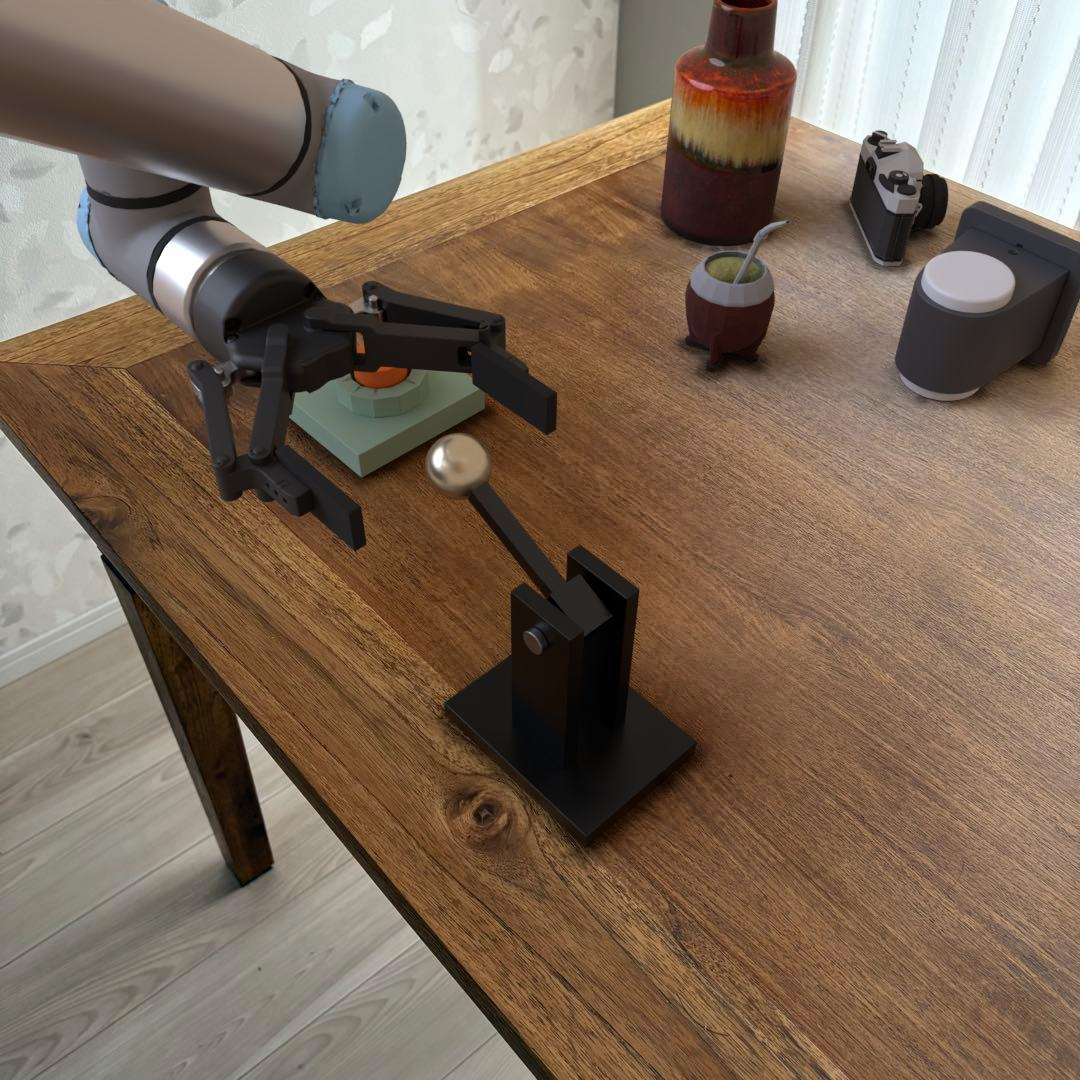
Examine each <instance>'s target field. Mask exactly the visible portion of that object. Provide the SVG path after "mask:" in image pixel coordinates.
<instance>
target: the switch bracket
mask: <svg viewBox="0 0 1080 1080" xmlns="http://www.w3.org/2000/svg"><path fill="white" fill-rule="evenodd" d="M578 574H581V575H582V577H583V578H584V579H585V580H586V582H587V583H588V584H589V585H590V587H591V588H592V589H593V590H594V592H595V593H596V594H597V596H598V597H599V598H600V599H601V601H602V602H603V603H604V604H605V606H606V607H607V608H608V609H609V611H610V612H611V613H612V614H613V616H612V617H611V618H610V619H609V620H608V621H607V622H606V623H605V624H604V625H603V626H602V627H601V628H600V629H599V630H598V631H597V632H596V633H595V634H593V635H592V636H591V637H589V638H588V639H586V640H585V641H584V629H582V628H581V627H580V626H579V625H577V624H576V623H575V622H574V621H572V620H571V619H570V618H569V617H567V616H566V615H565V614H564V613H562V612H561V611H560V610H559V609H558V608H556V607H555V606H554V605H553V604H551V603H550V602H549V601H548V600H546V598H545V597H544V596H543V595H541V594H540V593H539V592H538V591H536V590H535V589H534V588H533V587H532V586H530V585H529V584H528V583H527V582H525V581H523V582H522V583H521V584H519V585H517V586H516V587H515V588H513V589H512V590H510V593H509V594H510V654H509V656H507V657H506V658H505V659H503V660H501V661H500V662H499V663H497V664H496V665H495V666H493V667H492V668H491V669H489V670H488V671H486V672H485V673H483V674H482V675H481V676H479V677H478V678H477V679H474V681H472V682H471V683H469V684H468V685H467V686H465V687H464V688H462V689H461V690H459V692H457V693H456V694H454V695H452V697H450V698H448V699H446V701H445V702H443V705H444V715H445V717H446V718H447V719H449V721H450V722H452V724H454V726H456V727H457V728H458V729H459V730H460V731H461V732H462V733H463V735H465V736H466V737H467V738H468V739H469V740H471V742H473V744H475V745H476V746H477V747H478V748H479V749H480V750H481V751H482V752H483V753H484V754H485V755H487V757H488V758H489V759H490V760H491V761H492V762H493V763H495V765H497V766H498V767H499V768H500V769H501V770H502V771H503V772H504V773H505V774H506V775H507V776H509V778H510V779H512V780H513V782H515V783H516V784H517V785H518V786H519V787H520V788H521V789H522V790H523V791H524V792H525V793H526V794H527V795H528V796H530V797H531V798H532V799H533V800H534V802H536V803H537V804H538V805H539V806H540V807H541V808H542V809H543V810H544V811H545V812H546V813H547V814H548V815H549V816H550V817H552V819H554V820H555V821H556V822H557V823H558V824H559V825H560V826H561V827H562V828H563V829H564V830H565V831H566V832H567V833H568V834H569V835H570V836H571V837H573V838H574V839H575V840H576V842H578V843H579V844H580V845H581V846H582V847H583V848H584V849H587V848H588V847H589V846H590V845H591V844H593V843H594V842H595V841H596V840H597V839H598V838H600V836H602V835H603V834H604V833H605V832H607V830H609V829H610V828H611V827H612V826H613V825H614V824H616V823H617V822H618V821H619V820H620V819H621V818H623V817H624V816H625V815H626V814H627V813H628V812H629V811H631V810H632V809H633V808H634V807H635V806H637V805H638V804H639V803H640V802H641V801H642V800H643V799H644V798H646V797H647V796H648V795H649V794H651V792H653V791H654V790H655V789H656V788H657V787H658V786H659V785H661V784H662V783H663V782H664V781H665V780H667V778H669V777H670V776H671V775H672V774H673V773H675V772H676V770H678V769H679V768H680V767H681V766H682V765H684V764H685V763H687V761H688V760H689V759H691V758H692V757H693V756H694V755H695V753H696V748H697V744H698V741H697V740H696V739H694V738H693V737H692V736H691V735H689V734H688V733H687V732H686V731H685V730H683V729H682V728H681V727H680V726H679V725H677V724H676V723H675V722H674V721H673V720H671V719H670V718H669V717H667V715H665V714H664V713H663V712H662V711H660V710H659V709H658V708H657V707H656V706H654V705H653V704H652V703H651V702H650V701H648V700H647V699H646V698H645V697H643V696H642V695H641V694H640V693H639V692H637V691H636V690H635V689H634V688H632V686H630V681H631V672H632V663H633V655H634V645H635V635H636V628H637V627H636V626H637V618H638V609H639V602H640V601H639V600H640V591H641V590H640V588H638V587H637V586H636V585H634V584H633V583H632V582H631V581H629V580H628V579H627V578H625V577H624V576H623V575H621V574H620V573H618V572H617V570H615V569H613V568H612V567H611V566H610V565H608V564H607V563H606V562H604V561H603V560H602V559H600V558H599V557H597V555H595V554H593V553H592V552H591V551H589V550H588V549H587V548H586V547H584V546H583V545H582V544H578V545H577V546H576V547H573V549H571V550H569V551H568V552H567V554H566V574H565V575H566V576H565V581H566V582H568V581H570V580H571V579H573V578H574V577H575V576H577V575H578Z"/></svg>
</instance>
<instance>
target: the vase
mask: <svg viewBox="0 0 1080 1080" xmlns="http://www.w3.org/2000/svg"><path fill="white" fill-rule="evenodd" d="M778 2H779V1H778V0H712V3H711V9H710V13H709V14H710V15H709V20H708V25H707V30H706V34H705V35H706V36H705V41H704V43H703V44H700V45H697V46H695V47H692V48H690V49H687V50H686V51H685V52H684V53H682V55H680V57H679V58H678V59H677V61H676V63H675V67H674V73H673V80H672V82H673V83H672V91H671V102H670V112H669V121H668V131H667V140H666V141H667V143H666V150H665V151H666V152H665V163H664V171H663V172H664V173H663V181H662V193H661V203H660V216H661V217H660V218H661V220H662V222H663V223H664V225H665V226H666V228H668V229H669V230H670V231H671V232H673V233H675V234H676V235H678V236H680V237H682V238H684V239H686V240H690V241H691V242H695V243H700V244H706V245H711V246H712V245H715V246H731V245H741V244H746V243H749V242H752V241H754V238H755V236H756V234H757V233H758V231H759V230H760V229H763V228H764V227H766V226H767V225H769V224H771V223H773V217H774V211H775V207H776V201H777V200H776V199H777V195H778V190H779V183H780V179H781V174H782V173H781V172H782V167H783V161H784V156H785V150H786V146H787V145H786V144H787V139H788V134H789V129H790V128H789V127H790V121H791V116H792V109H793V106H794V105H793V104H794V99H795V94H796V93H795V92H796V86H797V80H798V71H797V69H796V66H795V65H794V63H793V62H792V60H791V59H789V58H788V57H787V56H786V55H785V54H782V53H781V52H779V51H777V50H775V40H776V31H777V30H776V29H777V17H778V6H779V5H778V4H779V3H778Z"/></svg>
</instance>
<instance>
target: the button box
mask: <svg viewBox="0 0 1080 1080" xmlns="http://www.w3.org/2000/svg"><path fill="white" fill-rule="evenodd" d="M485 395H486V393H485V392H483V391H482V390H480V389H479V388H477V387H476V386H475V385H473V382H472V376H470V375H469V374H468V373H457V372H444V371H431V370H418V369H407V376H406V378H405V380H404V381H403V382H401V383H399V384H398V385H396V386H394V387H391V388H384V389H372V388H367V387H363V386H361V385H360V384H359V383H358V382H357V381H356V379H355V376H354V371H352V372H351V373H349V374H347V375H346V376H344V377H341V378H338V379H335V380H331V381H329V382H327V383H326V384H325V385H324V386H322V387H321V388H320V389H318V390H316V391H314V392H312V393H310V394H309V393H308V392H307V391H305V392H298V393H295V398H294V404H293V410H292V415H289V420H291V421H293V422H294V423H295V424H296V425H298V427H300V428H301V429H302V430H303V431H304V432H306V433H307V434H308V435H309V436H311V437H312V438H313V439H314V440H316V442H318V443H319V444H320V445H321V446H322V447H324V448H325V449H326V450H328V452H329V453H331V454H332V455H334V457H336V458H337V459H338V460H339V461H341V462H342V463H343V464H344V465H346V466H347V467H348V468H349V469H350V470H351V471H353V472H354V473H355V474H357V476H359V477H360V478H364V477H366V476H367V475H370V474H371V473H373V472H374V471H376V470H378V469H380V468H382V467H383V466H385V465H387V464H389V463H391V462H393V461H394V460H396V459H398V458H399V457H401V456H403V455H405V454H406V453H409V452H411V451H412V450H413V449H416V448H417V447H419V446H421V445H422V444H423V445H424V443H426V442H428V441H429V440H432V439H433V438H435V437H437V436H438V435H440V434H442V433H444V432H445V431H448V430H449V429H451V428H453V427H455V426H456V425H458V424H460V423H462V422H463V421H465V420H467V419H468V418H470V417H473V416H474V415H476V414H477V413H479V412H481V411H483V410H485V409H486V398H485V397H486V396H485Z"/></svg>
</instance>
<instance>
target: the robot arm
mask: <svg viewBox="0 0 1080 1080" xmlns="http://www.w3.org/2000/svg"><path fill="white" fill-rule="evenodd" d="M0 137H1V138H6V139H10V140H14V141H17V142H22V143H26V144H31V145H34V146H39V147H42V148H46V149H50V150H54V151H58V152H63V153H67V154H71V155H75V156H76V157H77V159H78V162H79V166H80V168H81V171H82V174H83V178H84V182H85V184H86V185H85V187H84V188H83V189H82V192H81V194H80V196H79V203H78V207H77V211H76V212H77V214H76V219H75V220H76V228H77V232H78V235H79V237H80V239H81V241H82V243H83V245H84V246H85V248H86V249H87V250H88V253H90V254H91V255H92V256H93V257H94V258H95V259H96V261H97V262H98V263H99V265H100V266H101V267H102V268H104V269H105V270H106V271H107V274H109V275H110V276H111V277H113V278H114V279H115V281H117V282H118V283H121V284H122V285H123V286H125V287H127V289H129V290H130V291H132V292H133V293H134V294H135V295H136V296H138V297H139V298H141V299H142V300H143V301H145V302H146V303H147V304H148V305H149V306H150V307H152V308H153V309H155V310H156V311H157V312H159V314H161V315H162V316H164V317H165V318H166V319H167V320H169V321H170V322H171V323H172V324H173V325H175V326H176V327H177V328H179V329H180V330H181V331H182V332H183V333H185V334H186V335H187V336H188V337H189V338H191V339H192V340H193V341H194V342H196V343H197V344H198V345H200V346H201V347H202V348H203V349H204V350H205V351H206V352H207V353H208V354H209V355H211V356H212V357H213V358H214V359H216V360H217V361H218V362H219V364H216V365H213V366H211V365H210V364H209V362H207V361H206V360H203V359H196V360H192V361H191V362H189V363H188V364H187V365H186V370H187V374H188V378H189V382H190V385H191V389H192V394H193V396H194V400H195V403H196V404H197V406H198V407H199V408H200V409H201V410H202V412H203V414H204V421H205V427H206V434H207V440H208V448H209V449H208V450H209V455H210V462H211V467H212V469H213V473H214V474H213V475H214V478H215V481H216V485H217V489H218V492H219V496H220V498H221V499H222V500H223V501H224V502H236V501H237V500H239V499H240V498H241V497H243V494H244V492H245V491H249V490H254V489H255V490H256V494H257V498H258V499H259V501H261V502H263V503H273V502H274V501H276V503H278V504H279V505H280V506H281V507H282V508H283V509H285V511H286V512H288V513H289V514H290V515H292V516H295V517H297V518H301V517H303V516H304V515H306V514H309V513H310V514H311V515H313V516H314V517H315V518H316V519H317V520H318V521H319V522H321V524H323V525H324V526H325V527H326V528H328V529H329V530H330V531H331V532H332V533H333V534H334V535H335V536H336V537H338V539H340V540H341V541H342V542H344V544H345V545H346V546H348V547H349V548H350V549H351V550H352V551H353V552H357V551H359V550H360V549H362V548H364V547H365V546H367V543H368V542H367V537H366V531H365V523H364V515H363V509H362V506H361V505H360V504H359V503H357V502H356V500H354V499H353V498H351V496H349V495H348V494H347V493H345V492H344V491H343V490H342V489H341V488H340V487H338V485H336V484H335V483H334V482H333V481H331V480H330V479H329V478H328V477H327V476H325V475H324V474H323V473H322V472H321V471H320V470H318V469H317V468H316V467H315V466H314V465H312V464H311V463H310V462H309V461H308V460H306V459H305V458H304V457H303V456H302V455H300V454H299V453H298V451H296V450H295V449H294V448H292V447H291V446H290V445H288V444H287V443H286V439H287V433H288V432H287V431H288V426H289V421H290V418H289V415H292V410H293V404H294V398H295V393H298V392H305V391H307V392H308V393H309V394H310V393H312V392H314V391H316V390H318V389H320V388H321V387H322V386H324V385H325V384H326V383H327V382H329V381H331V380H335V379H338V378H341V377H344V376H346V375H347V374H349V373H351V372H352V371H360V372H376V371H377V370H378V369H379V368H380V367H393V368H406V369H418V370H431V371H444V372H457V373H466V374H471V377H472V382H473V385H475V386H476V387H477V388H479V389H480V390H482V391H483V392H485V395H487V396H489V397H490V398H492V399H493V400H495V401H496V402H498V404H500V405H502V406H503V407H504V408H507V409H508V410H509V411H511V412H512V413H514V414H515V415H517V416H518V417H519V418H521V419H522V420H524V421H525V422H527V423H528V424H530V425H531V426H532V427H533V428H535V429H537V430H538V431H540V432H541V433H542V434H544V435H545V436H549V435H550V434H552V433H553V432H556V431H557V424H558V423H557V421H558V418H557V417H558V392H557V391H556V390H554V389H553V388H551V386H548V385H546V383H544V382H542V381H541V380H539V379H538V378H536V377H535V376H533V375H532V374H530V368H529V366H528V365H527V363H526V362H524V361H523V360H522V359H520V358H518V357H517V356H516V355H514V354H513V353H511V352H509V351H507V335H506V333H507V330H506V329H507V327H506V325H507V323H506V321H507V320H506V317H505V316H504V315H502V314H500V313H495V312H492V311H486V310H483V309H482V310H481V309H477V308H474V307H473V308H472V307H468V306H463V305H459V304H456V303H455V304H454V303H450V302H446V301H441V300H436V299H433V298H427V297H423V296H418V295H414V294H409V293H405V292H400V291H396V290H394V289H392V287H391V288H390V287H389V286H388V285H385V284H383V283H381V282H379V281H377V280H368V281H365V282H364V283H362V285H361V291H362V296H361V297H359V298H357V299H356V300H354V301H352V302H351V303H349V304H347V303H344V302H341V301H335V300H331V299H329V298H328V297H327V296H326V295H324V293H323V292H322V290H320V288H319V287H318V286H317V285H316V283H315V282H313V280H312V279H311V278H310V277H309V276H307V275H306V274H305V273H304V272H302V271H300V270H299V269H297V268H296V267H295V266H293V265H292V264H290V263H289V262H287V261H286V260H285V259H283V258H281V257H280V256H278V255H277V254H276V253H275V252H274V251H273V250H271V249H270V248H268V247H267V246H265V245H264V244H262V243H261V242H259V241H258V240H257V239H255V238H253V237H251V236H250V235H249V234H247V233H246V232H245V231H243V230H241V229H239V228H238V227H237V226H236V225H234V224H233V223H231V222H230V221H228V220H227V219H225V218H224V217H223V216H221V215H220V214H218V213H217V211H216V210H215V209H216V208H215V207H214V205H213V200H212V196H211V191H210V188H211V189H215V190H219V191H223V192H227V193H232V194H235V195H238V196H240V197H243V198H248V199H250V200H251V199H252V200H255V201H261V202H263V203H268V204H272V205H276V206H280V207H284V208H286V209H290V210H294V211H299V212H301V213H305V214H308V215H312V216H315V217H316V218H319V219H322V220H325V221H327V220H329V219H330V220H336V221H340V222H345V223H348V224H349V223H350V224H354V225H364V224H368V223H371V222H373V221H374V220H376V219H378V218H379V217H380V216H381V215H383V214H384V213H385V212H386V210H387V209H388V208H389V207H390V206H391V204H392V202H393V201H394V198H395V197H396V195H397V193H398V191H399V188H400V185H401V182H402V179H403V178H402V176H403V173H404V169H405V164H406V159H407V149H408V148H407V146H408V145H407V143H408V142H407V132H406V126H405V122H404V118H403V115H402V112H401V110H400V109H399V107H398V106H397V104H396V102H395V101H394V100H393V99H392V97H390V96H389V95H387V94H386V93H385V92H382V91H381V90H379V89H374V88H371V87H367V86H364V85H360V84H356V83H355V81H353V80H351V79H349V78H342V79H337V78H332V77H328V76H324V75H320V74H318V73H314V72H312V71H309V70H306V69H304V68H303V67H302V68H301V67H300V66H297V65H295V64H293V63H291V62H289V61H286V60H284V59H282V58H280V57H277V56H275V55H271V54H269V53H268V52H266V51H265V50H263V49H261V48H259V47H256V46H255V45H253V44H250V43H247V42H246V41H244V40H242V39H239V38H237V37H235V36H233V35H231V34H228V33H226V32H224V31H222V30H220V29H218V28H216V27H214V26H212V25H209V24H208V23H205V22H202V21H201V20H199V19H197V18H194V17H192V16H190V15H188V14H185V13H184V12H181V11H179V10H177V9H175V8H174V7H171V6H169V4H168V3H167V1H165V0H0ZM357 333H358V334H360V335H361V336H362V341H363V344H364V348H365V353H357V347H358V343H357V342H358V339H357V338H358V336H357ZM237 383H239V384H240V385H241V386H244V387H248V388H254V389H255V388H256V389H259V394H258V398H257V403H256V407H255V413H254V419H253V423H252V427H251V433H250V439H249V443H248V449H247V453H245V454H241V455H238V453H237V447H236V442H235V435H234V431H233V424H232V419H231V414H230V410H229V405H230V404H231V403H232V399H231V397H232V396H233V395H234V394H235V388H234V386H235V385H236V384H237Z"/></svg>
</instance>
